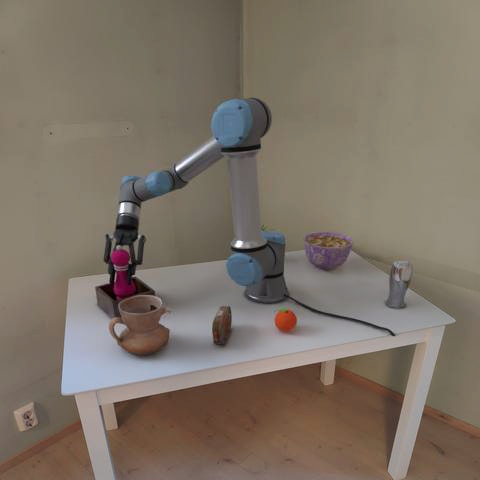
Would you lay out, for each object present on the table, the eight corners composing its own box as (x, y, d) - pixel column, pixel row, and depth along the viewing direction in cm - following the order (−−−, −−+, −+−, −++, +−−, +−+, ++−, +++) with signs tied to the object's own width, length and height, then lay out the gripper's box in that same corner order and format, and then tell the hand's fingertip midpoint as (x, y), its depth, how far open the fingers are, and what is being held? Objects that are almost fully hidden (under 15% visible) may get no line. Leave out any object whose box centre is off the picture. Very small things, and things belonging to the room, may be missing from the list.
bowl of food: (310, 277, 178) (313, 249, 173) (295, 259, 195) (297, 233, 190) (358, 273, 182) (362, 246, 176) (338, 256, 199) (341, 230, 193)
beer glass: (409, 304, 158) (417, 264, 151) (400, 311, 154) (408, 270, 146) (390, 298, 162) (397, 258, 155) (381, 304, 158) (388, 264, 151)
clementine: (267, 329, 142) (267, 309, 139) (279, 321, 147) (280, 301, 144) (287, 338, 138) (289, 317, 134) (300, 329, 143) (302, 309, 139)
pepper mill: (126, 307, 151) (118, 250, 141) (111, 302, 154) (102, 246, 144) (141, 299, 156) (135, 244, 146) (126, 294, 159) (119, 240, 150)
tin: (221, 350, 132) (221, 325, 128) (211, 349, 132) (210, 324, 128) (232, 325, 145) (232, 301, 141) (223, 324, 145) (222, 300, 141)
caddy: (156, 308, 155) (155, 290, 151) (115, 321, 147) (112, 302, 144) (137, 293, 165) (135, 276, 162) (97, 304, 157) (94, 286, 154)
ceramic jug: (167, 329, 142) (163, 288, 135) (180, 352, 131) (176, 309, 124) (108, 341, 136) (101, 298, 129) (117, 366, 125) (109, 321, 118)
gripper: (156, 225, 157) (150, 288, 151) (105, 224, 158) (96, 286, 152) (151, 214, 150) (144, 280, 144) (98, 213, 151) (88, 278, 145)
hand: (120, 283), depth 148 cm, fingers closed on pepper mill, 5 cm apart
